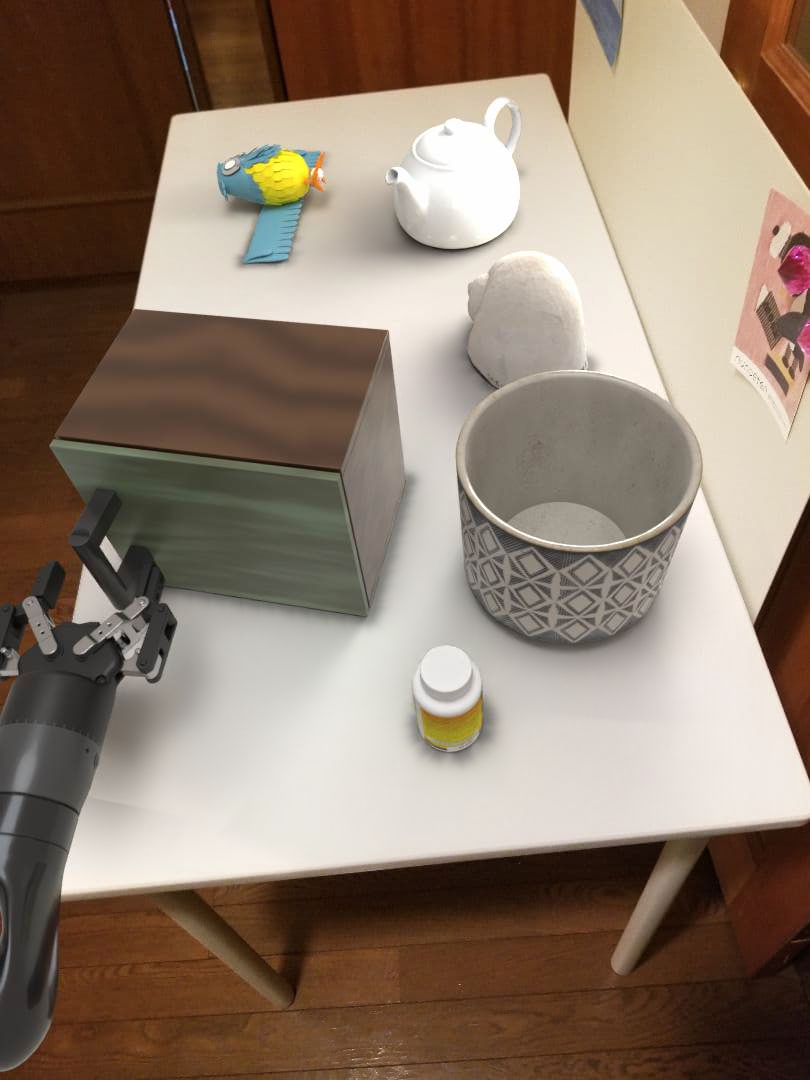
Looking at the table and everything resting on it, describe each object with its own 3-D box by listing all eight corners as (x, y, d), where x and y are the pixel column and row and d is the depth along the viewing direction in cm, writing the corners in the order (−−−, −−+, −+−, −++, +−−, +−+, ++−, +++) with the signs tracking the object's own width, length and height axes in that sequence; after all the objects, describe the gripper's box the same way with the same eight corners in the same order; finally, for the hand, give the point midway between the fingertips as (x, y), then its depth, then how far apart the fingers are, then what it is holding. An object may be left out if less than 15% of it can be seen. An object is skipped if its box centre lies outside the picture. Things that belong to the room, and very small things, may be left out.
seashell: (539, 353, 105) (478, 255, 99) (631, 325, 95) (570, 213, 88) (486, 427, 98) (417, 326, 91) (580, 404, 87) (510, 288, 81)
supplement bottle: (494, 736, 68) (496, 682, 60) (435, 765, 67) (428, 714, 58) (463, 682, 71) (461, 624, 63) (406, 709, 70) (396, 653, 62)
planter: (688, 525, 79) (729, 404, 66) (628, 689, 69) (663, 586, 56) (505, 469, 85) (509, 347, 72) (427, 612, 75) (415, 502, 62)
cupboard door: (351, 672, 72) (315, 544, 56) (109, 632, 77) (12, 503, 61) (369, 609, 76) (340, 472, 60) (137, 574, 80) (53, 438, 65)
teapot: (530, 252, 107) (536, 152, 96) (392, 261, 108) (382, 163, 97) (519, 176, 118) (523, 78, 107) (394, 185, 119) (385, 89, 108)
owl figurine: (299, 203, 102) (186, 207, 104) (312, 262, 109) (206, 265, 111) (334, 96, 118) (235, 101, 121) (344, 153, 125) (250, 157, 127)
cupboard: (370, 608, 76) (340, 469, 60) (139, 573, 81) (53, 435, 65) (406, 480, 85) (388, 329, 69) (196, 455, 90) (134, 308, 74)
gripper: (122, 728, 56) (172, 539, 65) (-72, 725, 57) (5, 540, 67) (157, 767, 62) (198, 588, 71) (-19, 764, 63) (44, 589, 73)
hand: (105, 565), depth 69 cm, fingers open, 8 cm apart
